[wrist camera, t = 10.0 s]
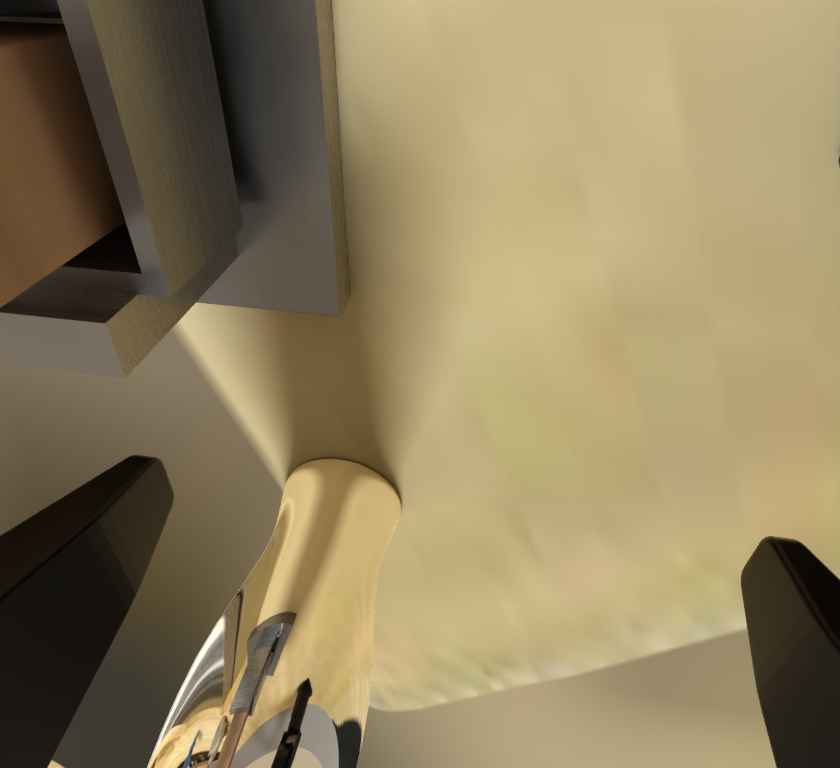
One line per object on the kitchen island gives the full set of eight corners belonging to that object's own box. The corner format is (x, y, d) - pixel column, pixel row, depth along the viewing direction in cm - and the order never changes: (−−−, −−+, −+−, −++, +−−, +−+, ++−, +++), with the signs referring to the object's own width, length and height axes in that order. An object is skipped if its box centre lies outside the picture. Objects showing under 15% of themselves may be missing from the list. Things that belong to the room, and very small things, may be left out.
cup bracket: (323, -124, 14) (145, -183, 8) (349, 296, 22) (271, 451, 15) (-101, -130, 15) (-571, -185, 9) (61, 268, 23) (-129, 401, 16)
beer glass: (428, 535, 30) (364, 914, 18) (314, 546, 32) (191, 891, 20) (380, 441, 26) (261, 841, 14) (254, 461, 28) (62, 823, 17)
